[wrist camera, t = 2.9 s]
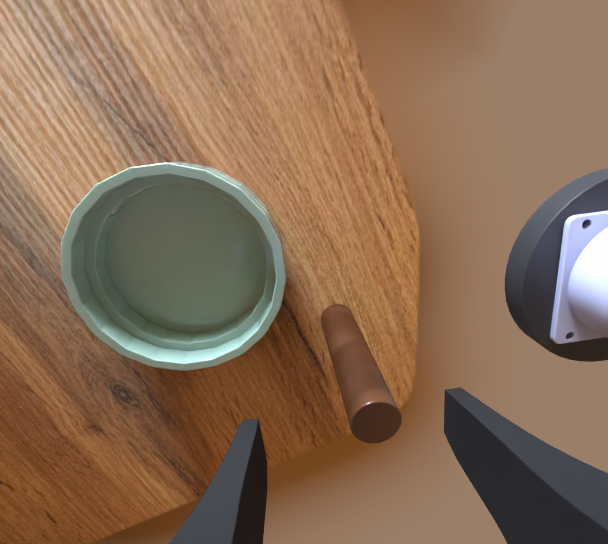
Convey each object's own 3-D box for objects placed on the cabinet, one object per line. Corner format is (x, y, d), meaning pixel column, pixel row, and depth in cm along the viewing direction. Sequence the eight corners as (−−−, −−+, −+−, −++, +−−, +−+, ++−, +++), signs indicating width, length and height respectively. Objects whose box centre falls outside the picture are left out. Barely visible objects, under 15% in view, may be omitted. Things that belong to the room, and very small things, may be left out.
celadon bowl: (269, 150, 18) (268, 150, 15) (294, 328, 22) (297, 355, 19) (64, 176, 18) (25, 180, 15) (123, 353, 21) (100, 383, 19)
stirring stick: (351, 301, 21) (401, 397, 13) (353, 330, 22) (402, 439, 14) (319, 306, 21) (348, 406, 13) (322, 334, 22) (352, 447, 14)
